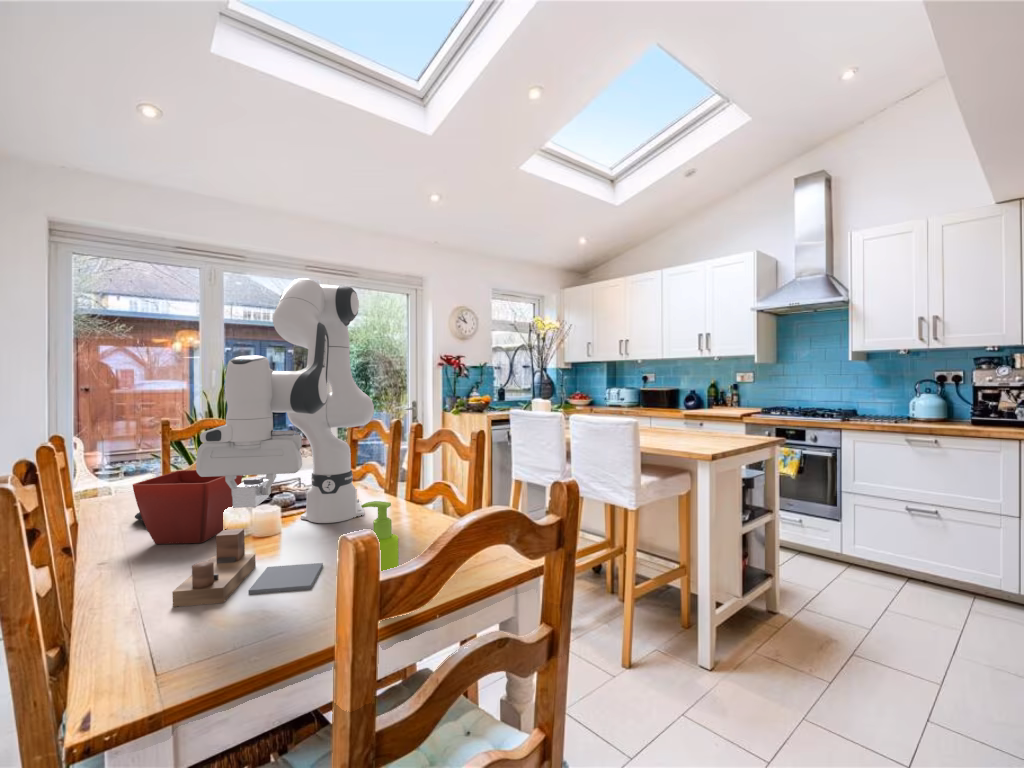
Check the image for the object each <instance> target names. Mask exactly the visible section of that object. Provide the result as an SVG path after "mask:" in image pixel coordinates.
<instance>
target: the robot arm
mask: <svg viewBox="0 0 1024 768" xmlns="http://www.w3.org/2000/svg"><path fill="white" fill-rule="evenodd" d="M279 297H280V299H279V301H278V303H277V306H276V308H275V310H274V312H273V318H272V325H273V327H274V330H275V331H276V333H277V334H278V335H279V336H280V337H281V339H283V340H285V342H288V343H290V344H291V345H295V346H298V347H302V348H304V349H307V358H306V366H305V367H304V368H302V369H298V370H273V369H272V368H271V367H270V363H269V362H270V361H269V359H268V357H266V356H262V355H259V354H258V355H257V354H256V355H254V354H253V355H252V354H251V355H240V356H236V357H233V358H232V359H230V360H229V361H228V363H227V366H226V373H225V382H224V383H225V385H224V389H225V391H224V392H225V393H224V394H225V395H224V396H225V400H226V404H227V412H226V416H225V424H223V425H219V426H216V427H215V428H211V429H208V430H206V431H205V430H204V431H203V432H201V433H200V435H199V440H200V442H201V444H200V446H199V447H198V449H197V453H196V461H195V462H196V463H195V464H196V467H195V470H196V471H197V473H198V474H199V476H201V477H213V476H225V481H226V483H227V484H228V485H229V487H230V488H231V489H233V488H234V487H236V486H238V485H237V484H236V482H235V481H234V479H236V476H238V475H242V476H259V475H261V476H262V475H263V476H264V475H265V478H266V479H268V483H267V484H266V485H265V486H263V487H261V491H262V492H261V495H269V496H270V494H271V493H272V485H273V483H274V482H275V480H276V478H277V475H278V474H279V475H285V474H287V475H289V474H296V473H298V472H299V471H300V470H301V469H302V467H303V459H302V452H301V448H302V446H303V443H302V442H303V440H302V439H303V438H302V435H300V433H298V432H296V431H295V430H293V429H289V430H280V429H279V430H274V417H273V416H274V414H273V413H286V414H287V417H288V421H289V422H290V423H291V424H292V425H293V426H294V427H296V428H297V429H299V430H300V431H301V432H302V434H304V436H305V437H306V439H307V440H308V442H309V445H310V449H311V456H312V458H311V459H312V473H311V478H310V479H311V485H312V486H311V488H310V489H309V490H307V491H306V501H305V502H306V504H305V505H306V506H305V507H306V509H305V512H304V513H302V514H301V515H300V519H301V520H307V521H309V522H311V523H318V524H333V523H340V522H344V521H348V520H351V519H353V517H354V518H356V516H358V517H361V515H362V516H364V515H365V511H364V508H362V507H361V505H363V504H362V501H360V499H359V498H358V494H357V490H358V489H356V487H355V485H354V484H353V481H354V479H353V476H354V474H353V470H352V464H351V463H352V461H351V454H352V453H351V447H350V445H349V443H347V442H346V441H345V440H343V439H341V438H338V437H337V436H335V435H334V433H333V431H332V429H333V428H355V427H361V426H364V425H368V424H369V423H370V421H371V420H372V419H373V416H374V413H375V406H374V402H373V400H372V398H371V397H370V396H369V395H368V394H366V393H365V392H363V391H362V389H361V388H360V387H359V386H358V385H357V383H356V381H355V380H354V378H353V375H352V370H351V357H350V356H351V354H350V351H351V350H350V346H351V345H350V334H349V328H348V326H349V325H350V323H351V322H352V321H354V320H355V318H356V317H357V316H358V313H359V308H360V301H359V297H358V294H357V292H356V291H355V289H354V288H353V287H351V286H349V285H342V284H341V285H333V284H319V282H318V281H316V280H314V279H312V278H306V277H301V278H297V279H294V280H293V281H292V282H291V283H290V284H289V285H288V286H287V287H286V288H285V289H284V291H283V292H282V293H281V294H280V296H279ZM328 385H330V387H331V392H328V391H329V390H328ZM232 497H233V496H232Z"/></svg>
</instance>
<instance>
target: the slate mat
mask: <svg viewBox="0 0 1024 768" xmlns="http://www.w3.org/2000/svg"><path fill="white" fill-rule="evenodd" d="M323 567H324V562H318V563H316V562H315V563H304V564H288V565H287V564H286V565H275V566H267V567H265V569H264V570H263V572H262V573H261V574H260V576H258V578H257V579H256V581H254V583H253V584H252V585H251V586H250V588H249V589H248V595H256V594H266V593H267V594H268V593H278V592H279V593H281V591H282V592H291V591H293V590H294V591H305V590H312V588H313V587H314V584H315V582H316V581H317V578H318V577H319V575H320V573H321V571H322V569H323Z"/></svg>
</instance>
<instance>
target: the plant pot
mask: <svg viewBox="0 0 1024 768" xmlns="http://www.w3.org/2000/svg"><path fill="white" fill-rule="evenodd" d="M234 481H235V482H236V484H237V485H240V484H241V483H242V481H243V475H238V476H236V479H234ZM132 489H133V495H134V498H135V501H136V502H135V503H136V505H137V507H138V512H140V514H141V517H142V519H143V521H142V522H143V524H144V526H145V528H146V529H147V532H148V534H149V537H151V539H152V541H153V543H154V544H157V545H162V544H163V545H166V544H170V545H171V544H200V543H204V542H206V541H208V540H210V539H212V538H214V537H216V535H218V534H219V533H220V532H221V531H223V512H224V510H225V509H227V508H228V507H232V506H233V497H232V489H231V488H230V487H229V485H228V484H227V483H226V481H225V476H213V477H201V476H199V474H198V473H197V471H196V469H186V470H185V469H184V470H181V469H180V470H176V471H172V472H170V473H165V474H163V475H158V476H155V477H153V478H149V479H146V480H142V481H138V482H135V483H133V484H132Z"/></svg>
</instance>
